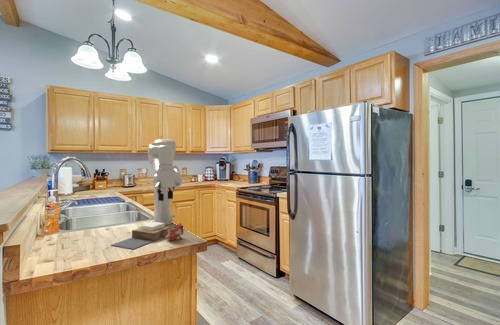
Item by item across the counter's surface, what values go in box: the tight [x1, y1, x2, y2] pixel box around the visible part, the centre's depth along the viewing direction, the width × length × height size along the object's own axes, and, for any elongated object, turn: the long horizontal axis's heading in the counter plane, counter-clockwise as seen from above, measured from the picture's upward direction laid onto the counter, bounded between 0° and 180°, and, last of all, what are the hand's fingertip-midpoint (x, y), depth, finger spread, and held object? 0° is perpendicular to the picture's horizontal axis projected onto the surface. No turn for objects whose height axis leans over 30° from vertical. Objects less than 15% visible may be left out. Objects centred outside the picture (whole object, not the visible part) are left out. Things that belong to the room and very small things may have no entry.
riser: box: [131, 225, 172, 243], centre depth 134 cm, size 13×14×4 cm
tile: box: [141, 221, 166, 231], centre depth 135 cm, size 9×7×2 cm
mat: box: [110, 237, 153, 251], centre depth 122 cm, size 12×14×1 cm
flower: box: [164, 222, 185, 241], centre depth 128 cm, size 10×9×8 cm
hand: (165, 199), depth 143 cm, fingers open, 6 cm apart
